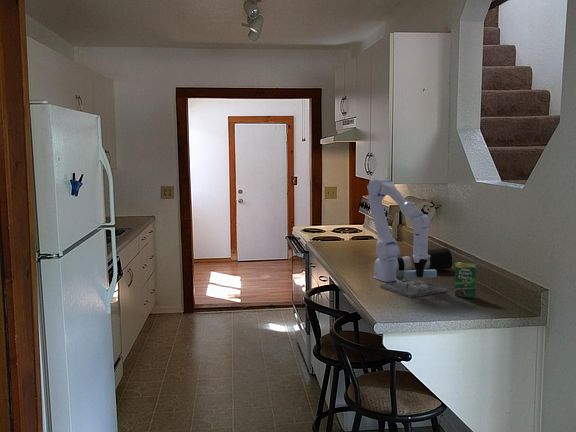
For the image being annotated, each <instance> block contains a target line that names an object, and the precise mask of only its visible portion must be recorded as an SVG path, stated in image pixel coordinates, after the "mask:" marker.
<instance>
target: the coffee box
mask: <svg viewBox="0 0 576 432" xmlns="http://www.w3.org/2000/svg"><path fill="white" fill-rule="evenodd" d="M454 267H455V268H454V297H459V296H460V297H461V298H469V299H476V298H477V292H478V291H477V289H478V286H477V285H478V284H477V283H478V263H470V262H469V263H468V262H458V261H456V262H455V263H454Z"/></svg>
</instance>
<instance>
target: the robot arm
mask: <svg viewBox="0 0 576 432" xmlns="http://www.w3.org/2000/svg"><path fill="white" fill-rule="evenodd" d="M366 188H367V191H368V199H367V201H368V203H369V207H370V212H371V216H372V219H373V220H372V221H373V224H374V227H375V230H376V234H377V238H378V240H377V242H376V244H375V246H376V247H375V249H376V250H375V251H376V252H375V253H376V256H377V258H376V260H375V261H374V271H373V272H374V276H372V279H375V280H376V279H377V280H378V281H379V280H380V281H382V282H385V283H391V282H397V278H396V259H397V258H398V257H399V256H400V255H401V248H400V245H398V243H397V239H395V238H394V237H393V236H392V234H391V231H390V230H391V229H390V228H389V223H388V219H387V216H386V213H385V209H384V206H383V200H384V198H385V197H386V196H389V197H390V198H391V199H392V200H393V201H394V202H395V203H396V205H399V207H400V211H401V212H402V214H403V215H404V216H405V217H406V218H407V219H408V221H410V225H411V227H412V231H413V246H412V247H413V248H412V249H413V250H412V251H413V252H412V255H413V258H414V259H413V263H414V265H415V269H416V275H417V277H422V276H423V272H424V270H425V269H424V268H425V265H426V263H427V261H428V260H427V259H423V258H427V257H428V258H429V257H430V255H427V253H428V250H429V249H428V247H429V228H430V227H431V224H432V218H431V217H430V215H428V214H425V213H423V211H421V210H420V209H419V207H417V206H416V205H417V204H416V203H415V202H413V201H408V200H407V199H406V198H405V196H403V194H402V193H401V192H400V191H399V190H398V189H397V187H396V186H395V183H394V182H393V181H392V180H391V178H373V179H371V180H370V181H369V183H368V184H367V186H366Z"/></svg>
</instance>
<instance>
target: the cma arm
mask: <svg viewBox="0 0 576 432" xmlns="http://www.w3.org/2000/svg"><path fill="white" fill-rule="evenodd" d="M437 277H438V270H435V269H433V270H427V269H424V272H423V276H422V277H417V275H416V270H404V271H401V270H397V271H396V278H397V279H423V278H425V279H426V278H437Z"/></svg>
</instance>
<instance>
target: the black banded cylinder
mask: <svg viewBox="0 0 576 432" xmlns="http://www.w3.org/2000/svg"><path fill="white" fill-rule="evenodd" d="M427 255H430V257H429V258H428V257H427V258H423V259H427V260H428V261H427V263H426V265H425V268H424V270H433V269H435V270H437V271H441V270H450V269H452V267H453V256H452V253H451V250H450V249H449V248H448V247H441V248H433V249H432V248H431V249H428V253H427ZM413 259H414V258H413V254H411V255H407V256H406V255H405V256H400V257H397V259H396V271H397V270H401V271H404V270H416V269H415V265H414V263H413Z"/></svg>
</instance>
